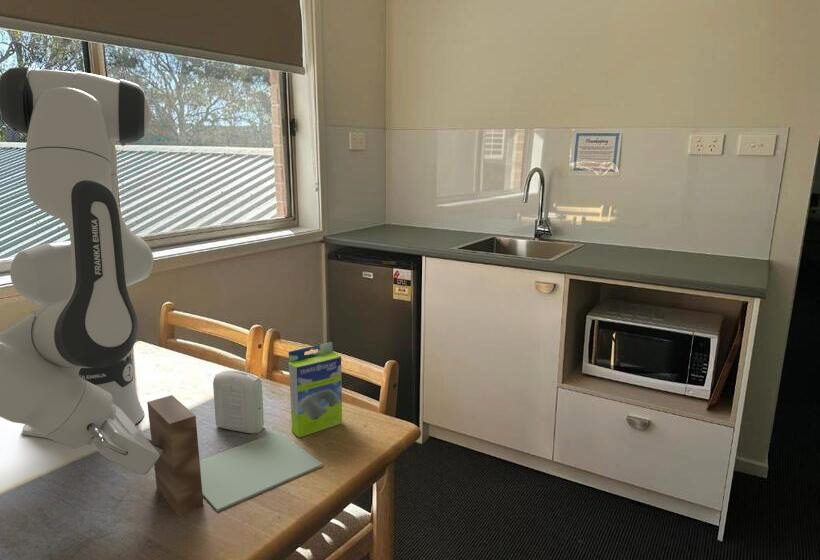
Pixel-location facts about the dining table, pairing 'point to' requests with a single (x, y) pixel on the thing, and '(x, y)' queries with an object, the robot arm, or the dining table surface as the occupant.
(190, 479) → the walnut block
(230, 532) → the dining table surface
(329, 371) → the box
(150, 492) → the dining table surface
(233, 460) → the mat
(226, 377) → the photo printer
